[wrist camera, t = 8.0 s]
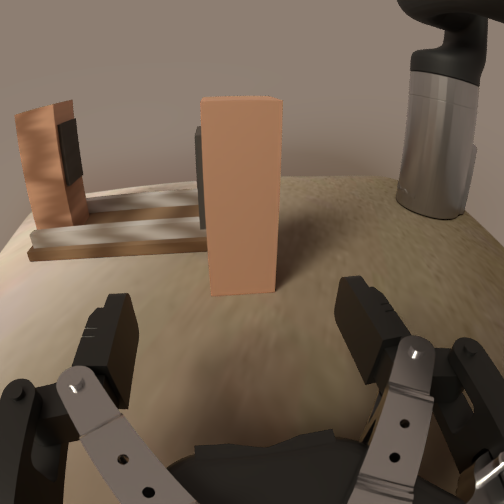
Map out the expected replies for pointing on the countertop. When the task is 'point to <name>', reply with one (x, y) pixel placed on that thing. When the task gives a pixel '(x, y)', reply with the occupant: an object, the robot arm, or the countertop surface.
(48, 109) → the rail base
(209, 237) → the block
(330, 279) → the countertop surface
